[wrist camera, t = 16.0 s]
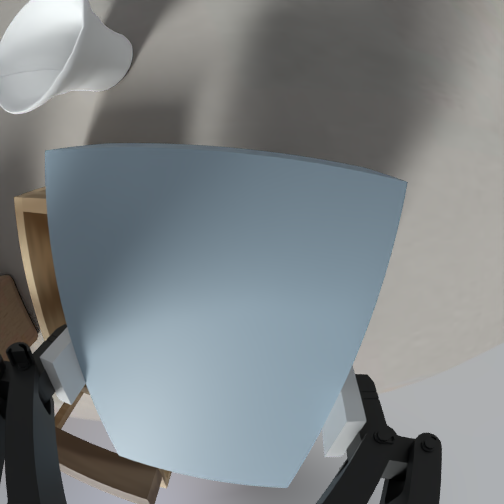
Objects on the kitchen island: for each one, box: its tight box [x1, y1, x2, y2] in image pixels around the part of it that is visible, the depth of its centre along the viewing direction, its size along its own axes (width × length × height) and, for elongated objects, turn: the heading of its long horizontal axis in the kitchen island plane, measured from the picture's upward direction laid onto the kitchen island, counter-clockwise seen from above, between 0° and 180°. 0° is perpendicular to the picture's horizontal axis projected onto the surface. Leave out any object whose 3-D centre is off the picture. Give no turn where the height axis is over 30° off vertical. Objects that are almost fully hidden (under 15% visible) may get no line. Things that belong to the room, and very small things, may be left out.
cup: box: [0, 0, 133, 114], centre depth 14 cm, size 9×9×10 cm
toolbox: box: [14, 186, 171, 488], centre depth 21 cm, size 26×15×12 cm, turn 174°
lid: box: [45, 143, 408, 488], centre depth 12 cm, size 18×11×4 cm, turn 174°
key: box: [55, 427, 162, 504], centre depth 17 cm, size 3×15×4 cm, turn 84°
